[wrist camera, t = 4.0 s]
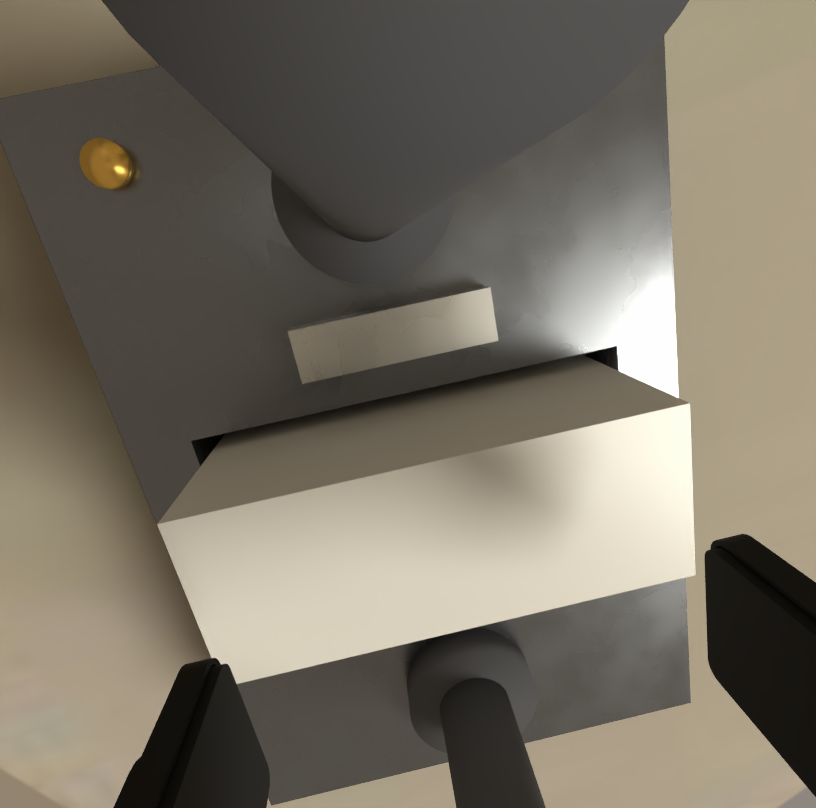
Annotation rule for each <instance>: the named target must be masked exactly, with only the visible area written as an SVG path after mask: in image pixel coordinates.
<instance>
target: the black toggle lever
mask: <svg viewBox="0 0 816 808" xmlns="http://www.w3.org/2000/svg"><path fill="white" fill-rule="evenodd" d="M407 691H408V700H409V709H410V717H411V722H412V725H413V728H414V729H415V731H416V733H417V734H418V736H419V737H420V738H421V739H422V740H423V741H424V742H425V743H426V744H428V745H429V746H431V747H433V748H435V749H437V750H439V751H442V752H444V753H447V756H448V761H449V767H450V773H451V779H452V784H453V790H454V796H455V802H456V807H457V808H546V807H545V804H544V801H543V798H542V795H541V793H540V790H539V787H538V784H537V781H536V778H535V775H534V772H533V769H532V766H531V763H530V760H529V757H528V754H527V751H526V748H525V745H524V742H523V739H522V736H521V733H522V732H523V731H524V729H525V728H526V727H527V726H528V724H529V723H530V721H531V720H532V718H533V716H534V713H535V711H536V707H537V701H538V694H537V688H536V684H535V682H534V679H533V677H532V674H531V672H530V669H529V667H528V665H527V662H526V660H525V657H524V655H523V653H522V652H521V650H520V648H519V647H518V646H517V645H516V644H515V643H514V642H513V641H511V640H510V639H509V638H507V637H505V636H504V635H501V634H499V633H496V632H493V631H489V630H482V629H468V630H462V631H458V632H454V633H450V634H447V635H445V636H442V637H440V638H438V639H437V640H435V641H433V642H432V643H431V644H429V645H428V646H427V647H426V648H424V649H423V650H422V651H421V652H420V654H419V655H418V656H417V657H416V659H415V660H414V662H413V664H412V666H411V668H410V671H409V674H408V679H407Z"/></svg>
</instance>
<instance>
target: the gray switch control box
mask: <svg viewBox="0 0 816 808" xmlns="http://www.w3.org/2000/svg"><path fill="white" fill-rule="evenodd" d="M0 141H1V143H2V146H3V148H4V151H5V153H6V156H7V158H8V161H9V163H10V165H11V168H12V170H13V173H14V175H15V178H16V180H17V183H18V185H19V188H20V190H21V192H22V195H23V197H24V200H25V202H26V205H27V207H28V210H29V212H30V215H31V217H32V219H33V222H34V224H35V227H36V229H37V232H38V234H39V237H40V239H41V242H42V244H43V246H44V249H45V251H46V254H47V256H48V259H49V261H50V264H51V266H52V268H53V271H54V273H55V276H56V278H57V281H58V283H59V286H60V288H61V291H62V293H63V295H64V298H65V300H66V303H67V305H68V308H69V310H70V313H71V315H72V318H73V320H74V322H75V325H76V327H77V330H78V332H79V335H80V337H81V340H82V342H83V345H84V347H85V349H86V352H87V354H88V357H89V359H90V362H91V364H92V367H93V369H94V372H95V374H96V376H97V379H98V381H99V384H100V386H101V389H102V391H103V394H104V396H105V399H106V401H107V403H108V406H109V408H110V411H111V413H112V416H113V418H114V421H115V423H116V426H117V428H118V430H119V433H120V435H121V438H122V440H123V443H124V445H125V448H126V450H127V453H128V455H129V457H130V460H131V462H132V465H133V467H134V470H135V472H136V475H137V477H138V479H139V482H140V484H141V487H142V489H143V492H144V494H145V497H146V499H147V502H148V504H149V506H150V509H151V511H152V514H153V516H154V519H155V521H156V524H158V523H159V521H160V520H161V519H162V517H163V516H164V515H165V513H166V512H167V511H168V509H169V508H170V507H171V505H172V504H173V503H174V501H175V500H176V499H177V497H178V496H179V495H180V493H181V492H182V491H183V489H184V488H185V487H186V485H187V484H188V483H189V481H190V480H191V479H192V477H193V476H194V475H195V473H196V472H197V471H198V469H199V468H200V467H201V465H202V464H203V463H204V461H205V460H206V459H207V457H208V456H209V455H210V453H211V452H212V451H213V449H214V448H215V447H216V445H217V444H218V443H219V441H220V440H221V439H222V437H223V436H224V435H225V433H229V432H233V431H238V430H242V429H247V428H251V427H256V426H260V425H265V424H269V423H274V422H278V421H283V420H287V419H292V418H296V417H301V416H305V415H310V414H314V413H319V412H323V411H328V410H332V409H337V408H341V407H346V406H350V405H354V404H359V403H363V402H368V401H372V400H377V399H381V398H386V397H390V396H395V395H399V394H404V393H408V392H413V391H417V390H422V389H426V388H431V387H435V386H440V385H444V384H449V383H453V382H458V381H462V380H467V379H471V378H476V377H480V376H485V375H489V374H494V373H498V372H503V371H507V370H512V369H516V368H521V367H525V366H530V365H534V364H538V363H543V362H547V361H552V360H556V359H561V358H565V357H570V356H574V355H579V354H582V355H584V356H586V357H589V358H591V359H593V360H595V361H597V362H600V363H602V364H604V365H606V366H609V367H611V368H613V369H615V370H617V371H620V372H622V373H624V374H626V375H628V376H631V377H633V378H635V379H637V380H639V381H642V382H644V383H646V384H648V385H651V386H653V387H655V388H657V389H659V390H662V391H664V392H666V393H668V394H670V395H673V396H675V397H677V398H678V374H677V348H676V323H675V298H674V273H673V247H672V222H671V197H670V172H669V146H668V121H667V96H666V71H665V46H664V36H663V37H662V39H661V40H660V41H659V43H658V44H657V45H656V46H655V48H654V49H653V50H652V51H651V53H650V54H649V55H648V56H647V57H646V58H645V59H644V60H643V61H642V62H641V63H640V64H639V65H638V66H637V67H636V68H635V69H634V70H633V71H632V72H631V73H630V74H629V75H628V76H627V77H626V79H625V80H624V81H623V82H622V83H621V84H620V85H619V86H617V87H616V88H615V89H614V90H613V91H611V92H610V93H609V94H608V95H606V96H605V97H604V98H603V99H601V100H600V101H599V102H598V103H597V104H595V105H594V106H593V107H592V108H590V109H589V110H588V111H587V112H585V113H584V114H583V115H581V116H580V117H578V118H576V119H575V120H573V121H572V122H570V123H568V124H567V125H565V126H564V127H562V128H560V129H559V130H557V131H556V132H554V133H552V134H551V135H549V136H548V137H546V138H544V139H543V140H541V141H540V142H538V143H536V144H535V145H533V146H532V147H530V148H528V149H527V150H525V151H524V152H522V153H520V154H519V155H517V156H516V157H514V158H512V159H511V160H509V161H508V162H506V163H504V164H503V165H501V166H500V167H498V168H496V169H495V170H493V171H492V172H490V173H488V174H487V175H485V176H484V177H482V178H480V179H479V180H477V181H476V182H474V183H472V184H471V185H469V186H468V187H466V188H464V189H463V190H461V191H460V192H458V193H457V194H455V200H454V207H453V212H452V215H451V219H450V222H449V225H448V227H447V230H446V232H445V234H444V236H443V238H442V239H441V241H440V243H439V244H438V246H437V247H436V248H435V250H434V251H433V253H432V254H431V255H430V256H429V257H428V258H427V259H426V260H425V261H424V262H423V263H421V264H420V265H419V266H418V267H416V268H415V269H413V270H412V271H410V272H409V273H407V274H405V275H403V276H401V277H398V278H396V279H393V280H390V281H386V282H381V283H374V284H360V283H351V282H347V281H343V280H339V279H337V278H334V277H332V276H329V275H327V274H325V273H324V272H322V271H320V270H318V269H317V268H315V267H314V266H313V265H311V264H310V263H309V262H308V261H306V260H305V259H304V258H303V257H302V256H301V255H300V254H299V253H298V252H297V250H296V249H295V248H294V247H293V245H292V244H291V243H290V241H289V240H288V238H287V236H286V235H285V233H284V231H283V229H282V227H281V225H280V223H279V220H278V217H277V214H276V211H275V208H274V203H273V198H272V189H271V170H270V169H269V168H268V167H267V166H266V165H265V164H264V163H263V162H262V161H261V160H260V159H259V158H258V157H256V156H255V155H254V154H253V153H252V152H251V151H250V150H249V149H248V148H247V147H246V146H245V145H244V144H243V143H242V142H241V141H240V140H238V139H237V138H236V137H235V136H234V135H233V134H232V133H231V132H230V131H229V130H228V129H227V128H226V127H225V126H224V125H223V124H222V123H220V122H219V121H218V120H217V119H216V118H215V117H214V116H213V115H212V114H211V113H210V112H209V111H208V110H207V109H206V108H205V107H204V106H202V105H201V104H200V103H199V102H198V101H197V100H196V99H195V98H194V97H193V96H192V95H191V94H190V93H189V92H188V91H187V90H186V89H185V88H183V87H182V86H181V85H180V84H179V83H178V82H177V81H176V80H175V79H174V78H173V77H172V76H171V75H170V74H169V73H168V72H167V71H166V70H165V69H164V68H163V67H162V66H161V67H156V68H151V69H146V70H141V71H136V72H131V73H126V74H121V75H116V76H111V77H106V78H101V79H96V80H91V81H86V82H81V83H76V84H71V85H66V86H61V87H56V88H51V89H46V90H41V91H36V92H31V93H26V94H21V95H16V96H11V97H6V98H1V99H0ZM157 526H158V525H157ZM158 529H159V528H158ZM159 531H160V530H159ZM161 536H162V535H161ZM163 541H164V540H163ZM164 543H165V542H164ZM165 546H166V545H165ZM166 548H167V547H166ZM167 551H168V550H167ZM168 553H169V552H168ZM169 556H170V555H169ZM170 558H171V557H170ZM172 563H173V562H172ZM174 568H175V567H174ZM175 570H176V569H175ZM176 573H177V572H176ZM177 575H178V574H177ZM178 578H179V577H178ZM179 580H180V579H179ZM180 583H181V582H180ZM181 585H182V584H181ZM183 590H184V589H183ZM185 595H186V594H185ZM186 597H187V596H186ZM187 600H188V599H187ZM188 602H189V601H188ZM189 605H190V604H189ZM190 607H191V606H190ZM191 610H192V609H191ZM192 612H193V611H192ZM194 617H195V616H194ZM196 622H197V621H196ZM197 624H198V623H197ZM198 627H199V626H198ZM199 629H200V628H199ZM471 629H482V630H489V631H493V632H496V633H499V634H501V635H504V636H505V637H507V638H509V639H510V640H511V641H513V642H514V643H515V644H516V645H517V646H518V647H519V648H520V650H521V652H522V653H523V655H524V657H525V660H526V662H527V665H528V667H529V669H530V672H531V674H532V677H533V679H534V682H535V684H536V688H537V694H538V701H537V707H536V711H535V713H534V716H533V718H532V720H531V721H530V723H529V724H528V726H527V727H526V728H525V729H524V731H523V732H522V733H521V736H522V739H523V742H524V743H528V742H532V741H536V740H540V739H544V738H548V737H552V736H556V735H560V734H564V733H569V732H573V731H577V730H581V729H585V728H589V727H593V726H597V725H601V724H605V723H609V722H613V721H618V720H622V719H626V718H630V717H634V716H638V715H642V714H646V713H650V712H654V711H658V710H662V709H666V708H671V707H675V706H679V705H683V704H687V703H691V702H690V676H689V651H688V626H687V601H686V577H685V578H681V579H677V580H673V581H669V582H664V583H660V584H656V585H652V586H648V587H643V588H639V589H635V590H631V591H627V592H622V593H618V594H614V595H610V596H605V597H601V598H597V599H593V600H589V601H584V602H580V603H576V604H572V605H568V606H563V607H559V608H555V609H551V610H547V611H542V612H538V613H534V614H530V615H525V616H521V617H517V618H513V619H509V620H504V621H500V622H496V623H492V624H488V625H483V626H479V627H475V628H471ZM467 630H468V629H467ZM200 632H201V631H200ZM201 634H202V633H201ZM445 635H447V634H445ZM445 635H441V636H437V637H433V638H429V639H424V640H420V641H416V642H412V643H408V644H403V645H399V646H395V647H391V648H387V649H382V650H378V651H374V652H370V653H366V654H361V655H357V656H353V657H349V658H344V659H340V660H336V661H332V662H328V663H323V664H319V665H315V666H311V667H307V668H302V669H298V670H294V671H290V672H286V673H281V674H277V675H273V676H269V677H264V678H260V679H256V680H252V681H248V682H243V683H239V684H237V686H238V689H239V692H240V694H241V697H242V699H243V702H244V704H245V707H246V710H247V712H248V715H249V717H250V720H251V722H252V725H253V728H254V730H255V733H256V735H257V738H258V740H259V743H260V746H261V748H262V751H263V753H264V756H265V758H266V761H267V764H268V767H269V773H270V787H269V794H268V798H269V801H270V803H271V805H275V804H279V803H283V802H287V801H291V800H295V799H299V798H303V797H307V796H312V795H316V794H320V793H324V792H328V791H332V790H336V789H340V788H344V787H348V786H352V785H356V784H361V783H365V782H369V781H373V780H377V779H381V778H385V777H389V776H393V775H397V774H401V773H405V772H409V771H414V770H418V769H422V768H426V767H430V766H434V765H438V764H442V763H446V762H449V761H448V756H447V753H444V752H442V751H439V750H437V749H435V748H433V747H431V746H429V745H428V744H426V743H425V742H424V741H423V740H422V739H421V738H420V737H419V736H418V734H417V733H416V731H415V729H414V728H413V725H412V722H411V717H410V709H409V700H408V691H407V679H408V674H409V671H410V668H411V666H412V664H413V662H414V660H415V659H416V657H417V656H418V655H419V654H420V652H421V651H422V650H423V649H424V648H426V647H427V646H428V645H429V644H431V643H432V642H433V641H435V640H437V639H438V638H440V637H442V636H445ZM202 637H203V636H202ZM203 639H204V638H203ZM205 644H206V643H205ZM207 649H208V648H207ZM208 651H209V650H208ZM209 654H210V653H209ZM210 656H211V655H210Z"/></svg>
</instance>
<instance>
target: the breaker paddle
mask: <svg viewBox="0 0 816 808" xmlns="http://www.w3.org/2000/svg"><path fill="white" fill-rule="evenodd" d="M157 525H158V528H159V530H160V533H161V535H162V538H163V540H164V542H165V545H166V547H167V550H168V552H169V555H170V557H171V560H172V562H173V565H174V567H175V569H176V572H177V574H178V577H179V579H180V582H181V584H182V587H183V589H184V592H185V594H186V596H187V599H188V601H189V604H190V606H191V609H192V611H193V614H194V616H195V619H196V621H197V623H198V626H199V628H200V631H201V633H202V636H203V638H204V641H205V643H206V646H207V648H208V650H209V653H210V655H211V658H216V659H218V660H219V662H220V664H228V665H229V667H230V669H231V671H232V674H233V676H234V679H235V681H236V684H239V683H243V682H248V681H252V680H256V679H260V678H264V677H269V676H273V675H277V674H281V673H286V672H290V671H294V670H298V669H302V668H307V667H311V666H315V665H319V664H323V663H328V662H332V661H336V660H340V659H344V658H349V657H353V656H357V655H361V654H366V653H370V652H374V651H378V650H382V649H387V648H391V647H395V646H399V645H403V644H408V643H412V642H416V641H420V640H424V639H429V638H433V637H437V636H441V635H445V634H450V633H454V632H458V631H462V630H467V629H471V628H475V627H479V626H483V625H488V624H492V623H496V622H500V621H504V620H509V619H513V618H517V617H521V616H525V615H530V614H534V613H538V612H542V611H547V610H551V609H555V608H559V607H563V606H568V605H572V604H576V603H580V602H584V601H589V600H593V599H597V598H601V597H605V596H610V595H614V594H618V593H622V592H627V591H631V590H635V589H639V588H643V587H648V586H652V585H656V584H660V583H664V582H669V581H673V580H677V579H681V578H685V577H690V576H694V575H695V545H694V514H693V483H692V452H691V422H690V403H688V402H686V401H684V400H682V399H679V398H677V397H675V396H673V395H670V394H668V393H666V392H664V391H662V390H659V389H657V388H655V387H653V386H651V385H648V384H646V383H644V382H642V381H639V380H637V379H635V378H633V377H631V376H628V375H626V374H624V373H622V372H620V371H617V370H615V369H613V368H611V367H609V366H606V365H604V364H602V363H600V362H597V361H595V360H593V359H591V358H589V357H586V356H584V355H582V354H579V355H574V356H570V357H565V358H561V359H556V360H552V361H547V362H543V363H538V364H534V365H530V366H525V367H521V368H516V369H512V370H507V371H503V372H498V373H494V374H489V375H485V376H480V377H476V378H471V379H467V380H462V381H458V382H453V383H449V384H444V385H440V386H435V387H431V388H426V389H422V390H417V391H413V392H408V393H404V394H399V395H395V396H390V397H386V398H381V399H377V400H372V401H368V402H363V403H359V404H354V405H350V406H346V407H341V408H337V409H332V410H328V411H323V412H319V413H314V414H310V415H305V416H301V417H296V418H292V419H287V420H283V421H278V422H274V423H269V424H265V425H260V426H256V427H251V428H247V429H242V430H238V431H233V432H229V433H225V435H224V436H223V437H222V439H221V440H220V441H219V443H218V444H217V445H216V447H215V448H214V449H213V451H212V452H211V453H210V455H209V456H208V457H207V459H206V460H205V461H204V463H203V464H202V465H201V467H200V468H199V469H198V471H197V472H196V473H195V475H194V476H193V477H192V479H191V480H190V481H189V483H188V484H187V485H186V487H185V488H184V489H183V491H182V492H181V493H180V495H179V496H178V497H177V499H176V500H175V501H174V503H173V504H172V505H171V507H170V508H169V509H168V511H167V512H166V513H165V515H164V516H163V517H162V519H161V520H160V521H159V523H158V524H157Z"/></svg>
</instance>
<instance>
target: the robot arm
mask: <svg viewBox="0 0 816 808" xmlns="http://www.w3.org/2000/svg"><path fill="white" fill-rule="evenodd" d="M705 582H706V613H707V643H708V661H709V665H710V668H711V670H712V672H713V674H714V676H715V677H716V679H717V680H718V682H719V683H720V684H721V685H722V686H723V688H724V689H725V690H726V691H727V692H728V693H729V695H730V696H731V697H732V698H733V699H734V701H735V702H736V703H737V704H738V705H739V706H740V708H741V709H742V710H743V711H744V712H745V714H746V715H747V716H748V717H749V718H750V720H751V721H752V722H753V723H754V724H755V725H756V727H757V728H758V729H759V730H760V731H761V733H762V734H763V735H764V736H765V737H766V739H767V740H768V741H769V742H770V743H771V744H772V746H773V747H774V748H775V749H776V750H777V752H778V753H779V754H780V755H781V756H782V758H783V759H784V760H785V761H786V762H787V763H788V765H789V766H790V767H791V768H792V769H793V771H794V772H795V773H796V774H797V775H798V776H799V778H800V779H801V780H802V781H803V782H804V784H805V785H806V786H807V787H808V788H809V790H810V791H811V792H812V793H813V794H814V795H815V796H816V583H815V582H814V581H813V580H811V579H810V578H808V577H807V576H806V575H804V574H803V573H801V572H800V571H799V570H797V569H796V568H794V567H793V566H792V565H790V564H789V563H787V562H786V561H785V560H783V559H782V558H780V557H779V556H778V555H776V554H775V553H773V552H772V551H771V550H769V549H768V548H766V547H765V546H764V545H762V544H761V543H759V542H758V541H757V540H755V539H754V538H752V537H751V536H749V535H746V534H740V535H736V536H732V537H728V538H723V539H719V540H715V541H713V543H712V544H711V550H708V551H706V553H705ZM269 787H270V773H269V767H268V764H267V761H266V758H265V756H264V753H263V751H262V748H261V746H260V743H259V740H258V738H257V735H256V733H255V730H254V728H253V725H252V722H251V720H250V717H249V715H248V712H247V710H246V707H245V704H244V702H243V699H242V697H241V694H240V692H239V689H238V686H237V684H236V681H235V679H234V676H233V674H232V671H231V669H230V667H229V665H228V664H220V662H219V660H218V659H216V658H211V659H206V660H202V661H198V662H194V663H189V664H185V665H184V666H182V668H181V669H180V671H179V673H178V675H177V677H176V680H175V682H174V684H173V686H172V689H171V691H170V693H169V695H168V698H167V700H166V702H165V704H164V707H163V709H162V711H161V713H160V716H159V718H158V720H157V722H156V725H155V727H154V729H153V731H152V734H151V736H150V738H149V740H148V743H147V745H146V747H145V749H144V752H143V754H142V756H141V757H140V758H139V759H138V760H137V761H136V762H135V764H134V765H133V767H132V769H131V771H130V772H129V775H128V777H127V779H126V781H125V783H124V786H123V788H122V790H121V792H120V795H119V797H118V799H117V801H116V803H115V806H114V808H266V806H267V800H268V794H269Z"/></svg>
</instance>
